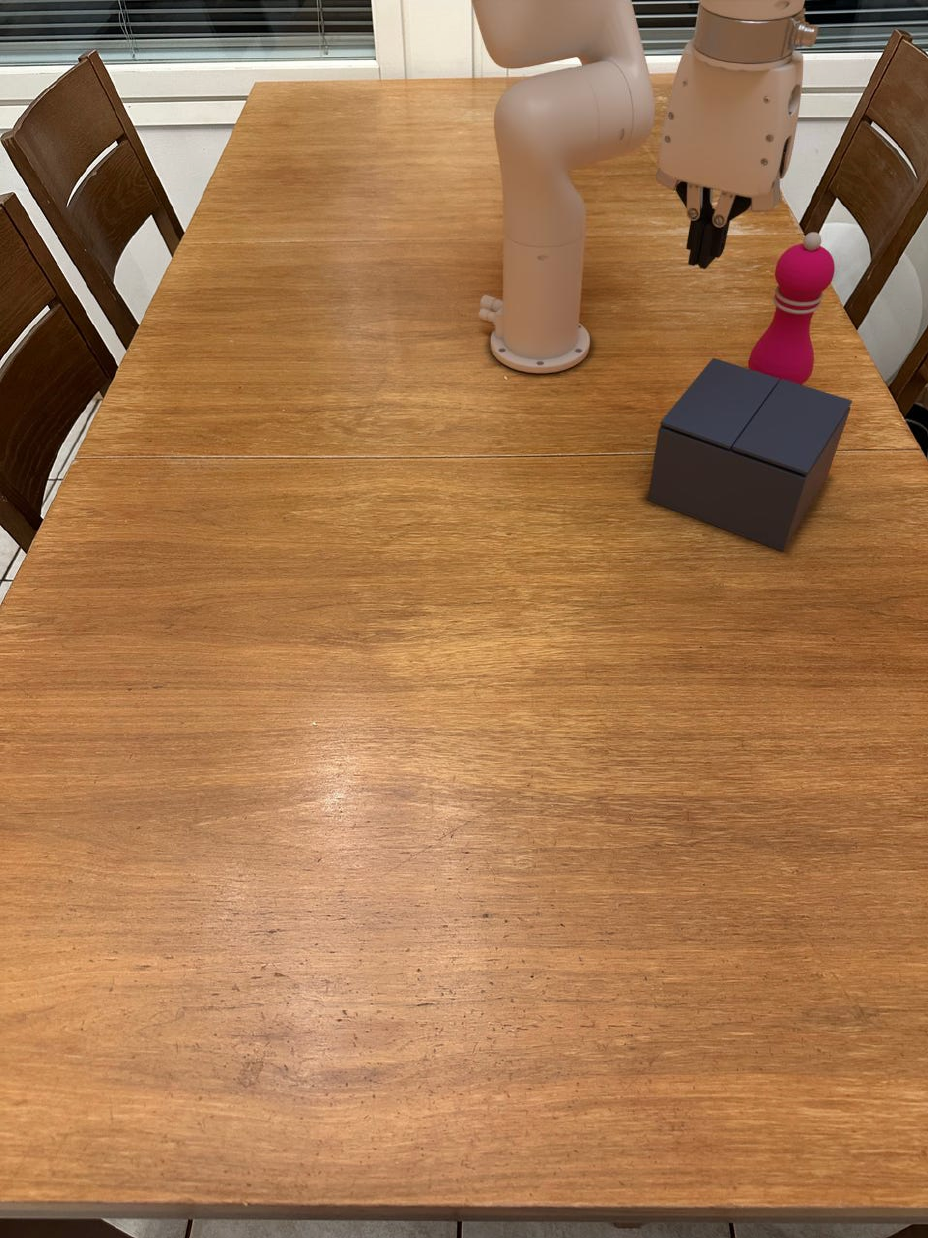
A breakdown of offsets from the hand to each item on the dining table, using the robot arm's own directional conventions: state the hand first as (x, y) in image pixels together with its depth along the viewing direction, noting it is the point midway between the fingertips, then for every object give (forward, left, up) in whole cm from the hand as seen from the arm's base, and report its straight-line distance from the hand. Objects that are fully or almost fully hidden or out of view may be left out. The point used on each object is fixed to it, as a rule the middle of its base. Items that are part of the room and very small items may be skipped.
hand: (703, 259), depth 85 cm
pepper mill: (+5, +19, -25) cm, 32 cm away
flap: (+4, +1, -15) cm, 16 cm away
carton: (+8, +1, -25) cm, 26 cm away
